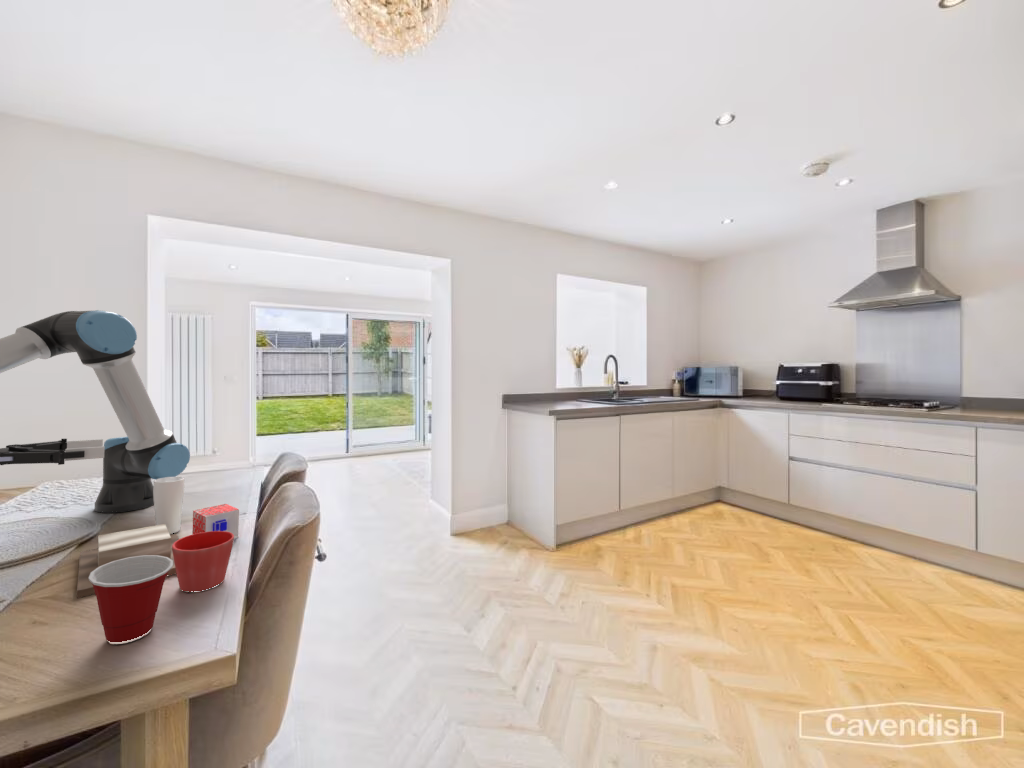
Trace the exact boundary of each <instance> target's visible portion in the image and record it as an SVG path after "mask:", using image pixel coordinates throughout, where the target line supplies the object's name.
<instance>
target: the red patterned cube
mask: <svg viewBox="0 0 1024 768" xmlns="http://www.w3.org/2000/svg"><path fill="white" fill-rule="evenodd" d="M192 511H193V512H192V534H191V535H193V534H197V533H202V532H209V531H226V532H231V533H232V534H233V535H234V539H237V538H239V525H240V522H239V521H240V509H239V508H237V507H235V506H232V505H229V503H228V504H227V503H224V504H219V505H214V506H209V507H203V508H199V509H195V510H192Z"/></svg>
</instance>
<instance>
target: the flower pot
mask: <svg viewBox="0 0 1024 768" xmlns="http://www.w3.org/2000/svg"><path fill="white" fill-rule="evenodd" d="M192 534H193V533H192ZM192 534H188V535H186V536H184V537H181V538H179V540H177V541H176V542H174V543H173V545H172V551H173V557H174V563H175V569H176V574H175V575H176V578H177V582H178V586H179V590H180V589H181V590H183V591H189V592H191V591H193V592H194V591H202V590H206V589H209V588H212V587H214V586H216V585H218V584H220V583H221V582H222V581H223V580H224V581H225V579H226V573H227V572H228V570H227V569H228V567H229V562H230V557H231V554H232V549H233V545H234V541H235V538H234V535H233V534H232V533H231V532H226V531H209V532H202V533H197V534H193V535H192ZM224 581H223V582H224ZM223 582H222V583H223ZM222 583H221V584H222ZM221 584H220V585H221ZM181 590H180V591H181ZM183 591H182V592H183Z"/></svg>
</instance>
